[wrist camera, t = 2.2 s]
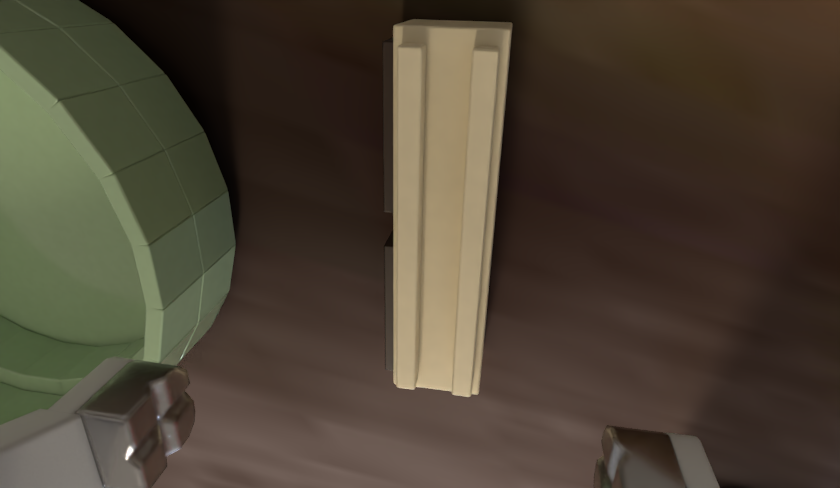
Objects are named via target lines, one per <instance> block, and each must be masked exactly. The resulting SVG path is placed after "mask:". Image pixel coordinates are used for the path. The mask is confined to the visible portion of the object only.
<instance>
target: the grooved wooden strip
mask: <svg viewBox="0 0 840 488" xmlns="http://www.w3.org/2000/svg"><path fill="white" fill-rule="evenodd" d="M512 26H513V25H512V23H511V22H485V21H455V20H425V19H412V20H409V21H405V22H402V23H399V24H396V25H394V27H393V38H390V39H388V40H385V41H383V157H384V212H392V213H393V231H392V233H391V235H390V236H389V238H388V240H387V242H386V244H385V246H384V271H385V369H386V370H392V371H393V382H394V384H396V386H397V387H398V388H405V389H415V387H423V388H431V389H438V390H446V391H452V394H453V395H458V396H465V397H470V396H471V394H476V395H477V394H478V393H479V387H480V377H481V368H482V358H483V348H484V337H485V326H486V315H487V304H488V293H489V281H490V270H491V259H492V248H493V237H494V226H495V215H496V204H497V192H498V181H499V170H500V159H501V148H502V137H503V126H504V115H505V103H506V92H507V81H508V70H509V59H510V48H511V37H512Z"/></svg>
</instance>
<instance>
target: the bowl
mask: <svg viewBox="0 0 840 488" xmlns="http://www.w3.org/2000/svg"><path fill="white" fill-rule="evenodd" d="M235 243H236V241H235V234H234V227H233V220H232V213H231V206H230V199H229V192H228V188H227V186H226V183H225V181H224V178H223V176H222V173H221V171H220V168H219V166H218V163H217V161H216V158H215V156H214V153H213V151H212V148H211V146H210V143H209V141H208V138H207V136H206V133H205V132H204V130H203V128H202V127H201V125H200V124H199V122H198V121H197V119H196V118H195V116H194V115H193V113H192V112H191V110H190V109H189V107H188V106H187V104H186V103H185V101H184V100H183V98H182V97H181V95H180V94H179V93H178V91H177V90H176V88H175V87H174V85H173V84H172V82H171V81H170V79H169V78H168V76H167V75H166V74H165V73H164V72H163V71H162V70H161V69H160V68H159V67H158V66H157V65H156V64H155V63H154V62H153V61H152V60H151V59H150V58H149V57H148V56H147V55H146V54H145V53H144V52H143V51H142V50H141V49H140V48H139V47H138V46H137V45H136V44H135V43H134V42H133V41H132V40H131V39H130V38H129V37H128V36H127V35H126V34H125V33H124V32H123V31H122V30H121V29H120V28H119V27H118V26H117V25H115V24H114V23H112V21H110V20H109V19H107V18H106V17H104V16H102V15H101V14H99V13H98V12H96V11H94V10H93V9H91V8H90V7H88V6H87V5H85V4H83V3H82V2H80V1H79V0H0V425H1V424H4V423H6V422H9V421H11V420H14V419H16V418H19V417H21V416H24V415H26V414H28V413H31V412H33V411H36V410H38V409H46V410H48V409H49V408H50V407H51V406H52V405H54V404H55V403H56V402H57V401H58V400H59V399H60V398H62V397H63V396H64V395H65V394H66V393H67V392H68V391H70V390H71V389H72V388H73V387H74V386H75V385H76V384H78V383H79V382H80V381H81V380H82V379H83V378H85V377H86V376H87V375H88V374H89V373H90V372H91V371H93V370H94V369H95V368H96V367H97V366H98V365H99V364H101V363H102V362H103V361H104V360H105V359H107V358H111V357H114V356H116V357H121V358H127V359H133V360H143V361H149V362H155V363H161V364H167V365H173V366H176V365H177V364H178V362H179V361H180V360H181V359H182V358H183V357H184V356H185V355H186V354H187V352H188V351H189V350H190V349H191V348H192V347H193V346H194V345H195V344H196V343H197V341H198V340H199V339H200V338H201V337H202V336H203V335H204V334H205V333H206V332H207V330H208V329H209V328H210V327H211V326H212V324H213V322H214V320H215V318H216V316H217V314H218V312H219V310H220V308H221V306H222V304H223V302H224V300H225V298H226V296H227V294H228V292H229V289H230V282H231V275H232V268H233V261H234V254H235V247H236V244H235Z"/></svg>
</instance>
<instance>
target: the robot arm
mask: <svg viewBox="0 0 840 488" xmlns="http://www.w3.org/2000/svg"><path fill="white" fill-rule="evenodd" d="M189 384H190V381H189V377H188V373H187V370H186V369H184V368H182V367H180V366H173V365H167V364H161V363H155V362H149V361H143V360H133V359H127V358H121V357H116V356H114V357H111V358H107V359H105V360H104V361H103V362H102V363H101V364H99V365H98V366H97V367H96V368H95V369H94V370H93V371H91V372H90V373H89V374H88V375H87V376H86V377H85V378H83V379H82V380H81V381H80V382H79V383H78V384H76V385H75V386H74V387H73V388H72V389H71V390H70V391H68V392H67V393H66V394H65V395H64V396H63V397H62V398H60V399H59V400H58V401H57V402H56V403H55V404H54V405H52V406H51V407H50V408H49V409H48V410H46V409H38V410H36V411H33V412H31V413H28V414H26V415H24V416H21V417H19V418H16V419H14V420H11V421H9V422H6V423H4V424H1V425H0V488H151V487H152V486H153V485H154V483H155V482H156V481H157V479H158V478H159V477H160V475H161V474H162V473H163V471H164V470H165V469H166V467H167V456H168V455H170V454H172V453H173V452H175V451H177V450H179V449H181V447H182V446H183V445H184V443H185V442H186V440H187V439H188V437H189V436H190V433H191V430H192V427H193V425H194V421H195V406H194V401H193V400H192V399H191V397H190V396H189V395H188V394H187V393H186V392H185V390H186V388H187V387H188V385H189ZM601 443H602V449H603V456H602V457H600V458H599V459H598V460H597V463H596V468H595V473H594V485H593V488H720V487H719V484H718V482H717V480H716V477H715V475H714V472H713V470H712V467H711V465H710V463H709V460H708V458H707V455H706V453H705V451H704V448H703V446H702V443H701V441H700V440H699V439H698V438H697V437H696V436H692V435H683V434H675V433H667V432H666V433H663V432H655V431H648V430H640V429H632V428H625V427H617V426H609V425H607V426H606V428H605V430H604V432H603V436H602V440H601Z"/></svg>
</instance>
